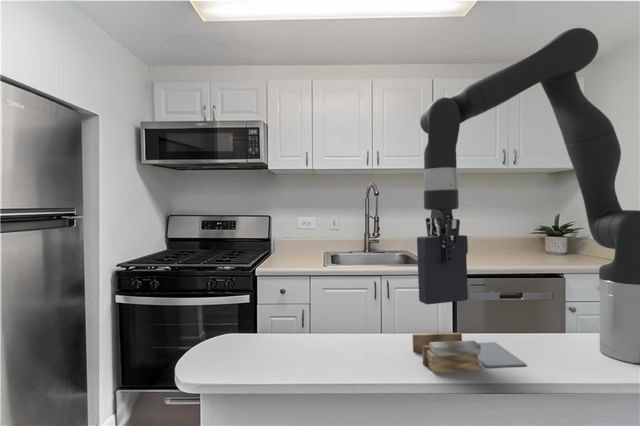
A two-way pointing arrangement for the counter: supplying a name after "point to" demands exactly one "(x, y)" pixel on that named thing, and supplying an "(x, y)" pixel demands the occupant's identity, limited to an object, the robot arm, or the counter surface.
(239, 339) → the counter surface
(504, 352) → the slate mat
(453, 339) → the rack
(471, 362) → the offcut stack
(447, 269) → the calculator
